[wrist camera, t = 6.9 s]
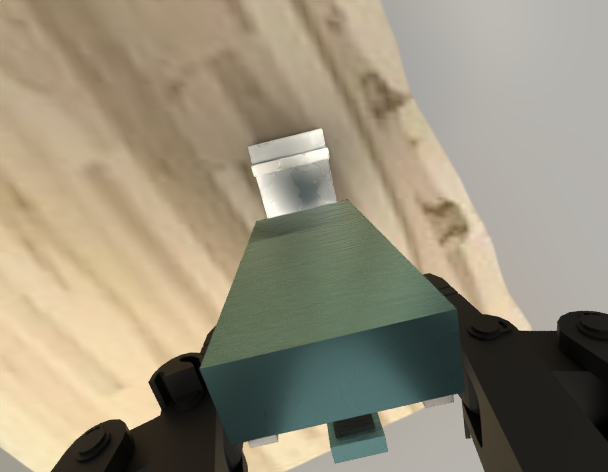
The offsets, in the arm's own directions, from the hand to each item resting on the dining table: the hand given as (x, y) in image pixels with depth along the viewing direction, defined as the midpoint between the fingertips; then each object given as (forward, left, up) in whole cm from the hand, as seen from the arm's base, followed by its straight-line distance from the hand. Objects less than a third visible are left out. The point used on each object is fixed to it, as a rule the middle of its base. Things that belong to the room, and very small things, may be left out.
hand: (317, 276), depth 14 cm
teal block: (0, 0, 0) cm, 0 cm away
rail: (+6, 0, -15) cm, 16 cm away
